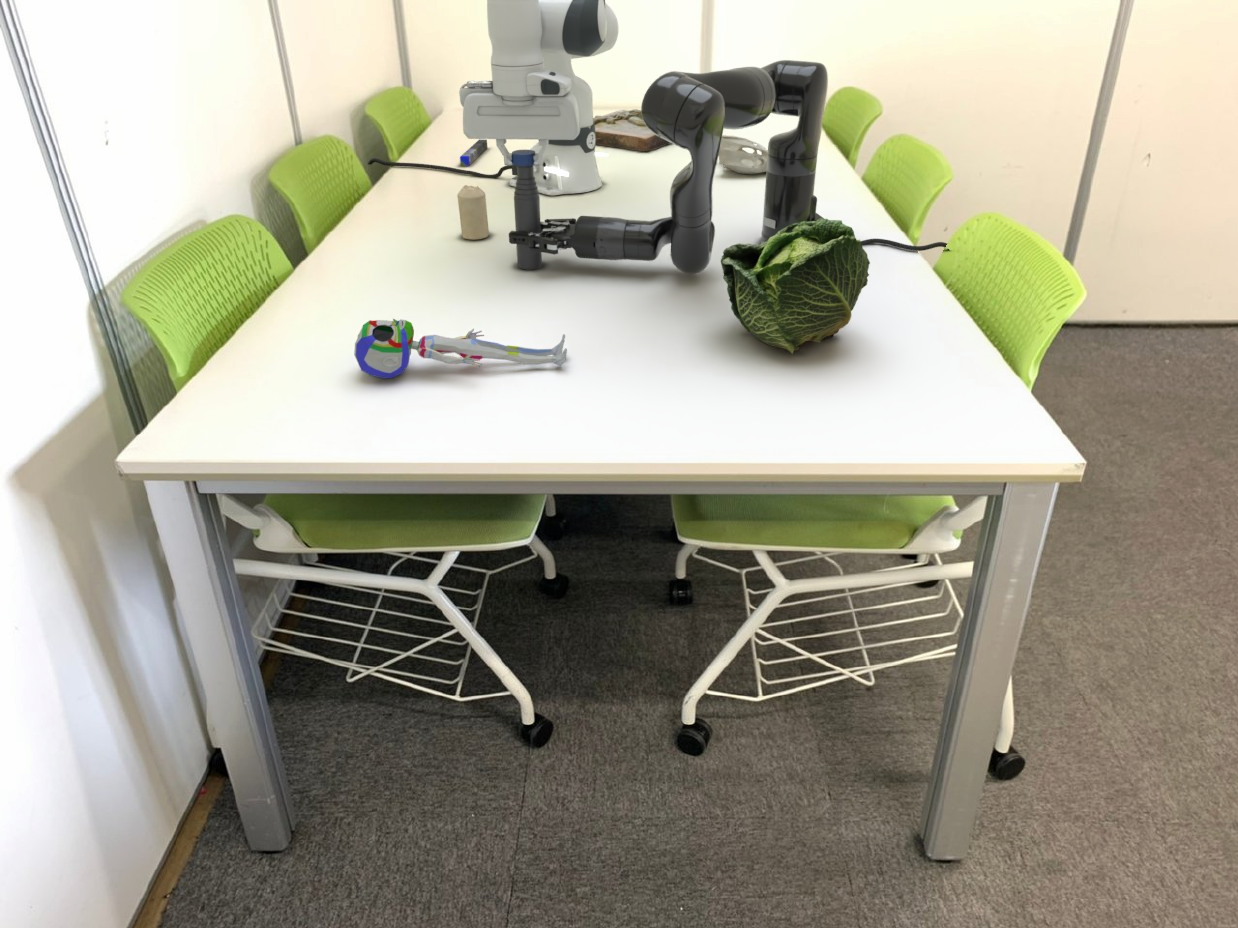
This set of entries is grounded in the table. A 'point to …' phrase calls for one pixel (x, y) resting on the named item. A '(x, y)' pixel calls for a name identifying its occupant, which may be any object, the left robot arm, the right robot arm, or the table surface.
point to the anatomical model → (742, 155)
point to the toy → (435, 349)
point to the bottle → (527, 215)
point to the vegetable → (797, 282)
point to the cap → (523, 157)
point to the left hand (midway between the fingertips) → (524, 164)
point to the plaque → (626, 131)
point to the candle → (473, 212)
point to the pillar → (473, 152)
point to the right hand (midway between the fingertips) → (514, 232)
